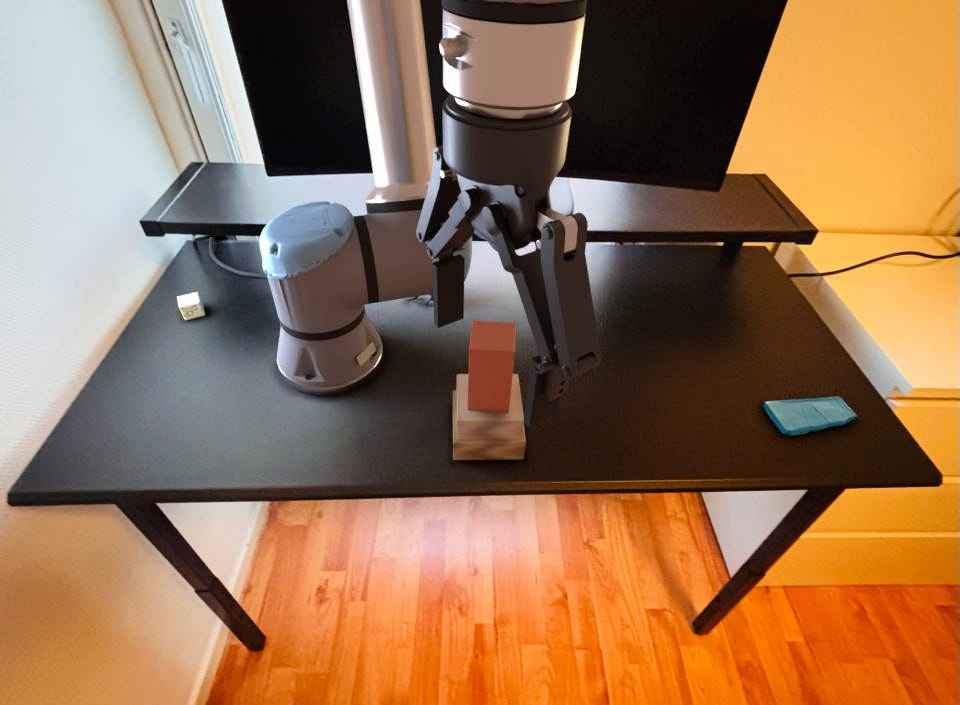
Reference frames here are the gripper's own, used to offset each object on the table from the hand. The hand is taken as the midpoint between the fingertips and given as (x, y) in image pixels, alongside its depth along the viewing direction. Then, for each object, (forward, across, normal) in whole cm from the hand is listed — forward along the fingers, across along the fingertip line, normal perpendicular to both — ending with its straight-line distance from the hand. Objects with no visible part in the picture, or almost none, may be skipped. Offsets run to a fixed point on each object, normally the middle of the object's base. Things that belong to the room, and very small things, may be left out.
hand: (490, 365), depth 45 cm
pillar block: (+18, -10, +8) cm, 22 cm away
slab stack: (+25, -10, +8) cm, 28 cm away
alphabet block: (+25, -56, -19) cm, 65 cm away
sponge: (+25, +12, +48) cm, 55 cm away
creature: (+25, -40, +16) cm, 50 cm away
